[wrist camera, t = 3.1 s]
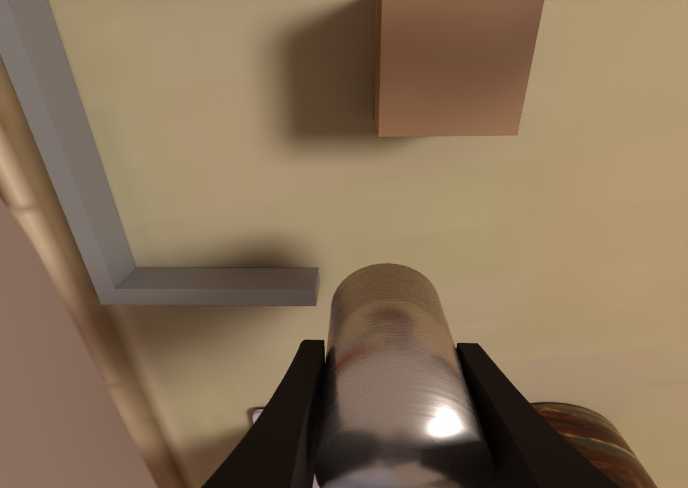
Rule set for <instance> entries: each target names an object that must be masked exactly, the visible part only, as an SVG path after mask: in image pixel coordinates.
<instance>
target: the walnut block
mask: <svg viewBox="0 0 688 488" xmlns="http://www.w3.org/2000/svg"><path fill="white" fill-rule="evenodd" d="M543 3H544V0H375V44H374V95H373V117H374V121H375V125H376V129H377V133H378V137H409V136H505V135H517V134H518V129H519V124H520V119H521V114H522V109H523V104H524V99H525V94H526V88H527V83H528V78H529V73H530V68H531V63H532V58H533V53H534V48H535V43H536V38H537V33H538V28H539V23H540V18H541V13H542V8H543Z"/></svg>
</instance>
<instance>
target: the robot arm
mask: <svg viewBox="0 0 688 488" xmlns="http://www.w3.org/2000/svg"><path fill="white" fill-rule="evenodd" d="M456 351H457V354H458V357H459V360H460V363H461V366H462V369H463V372H464V375H465V378H466V381H467V384H468V387H469V390H470V393H471V396H472V399H473V402H474V405H475V408H476V411H477V414H478V417H479V420H480V423H481V426H482V429H483V432H484V435H485V438H486V441H487V444H488V447H489V450H490V453H491V456H492V459H493V463H494V472H493V477H492V480H491V482H490V485H489V486H488V488H620V487H619V486H618V485H617V484H615V483H614V482H613V481H612V480H611V479H609V478H608V477H607V476H606V475H605V474H603V473H602V472H601V471H600V470H599V469H598V468H596V467H595V466H594V465H593V464H592V463H591V462H590V461H589V460H587V459H586V458H585V457H584V456H583V455H582V454H581V453H580V452H578V451H577V450H576V449H575V448H574V447H573V446H572V445H571V444H570V443H569V442H567V441H566V440H565V439H564V438H563V437H562V436H561V435H560V434H559V433H558V432H557V431H556V430H555V429H554V428H553V427H552V426H551V425H550V424H549V423H548V422H547V421H546V420H545V419H544V418H543V417H542V416H541V415H540V414H539V413H538V411H537V410H536V409H535V408H534V407H533V406H532V405H531V404H530V403H529V402H528V401H527V400H526V399H525V397H524V396H523V395H522V394H521V393H520V392H519V391H518V390H517V389H516V388H515V386H514V385H513V384H512V383H511V382H510V381H509V380H508V378H507V377H506V376H505V375H504V374H503V373H502V371H501V370H500V369H499V368H498V367H497V366H496V364H495V363H494V362H493V361H492V360H491V358H490V357H489V356H488V355H487V354H486V352H485V351H484V350H483V349H482V348H481V346H480V345H479V344H478V343H457V347H456ZM324 372H325V347H324V340H304V341H302V342H301V344H300V346H299V349H298V351H297V353H296V355H295V357H294V359H293V361H292V363H291V365H290V367H289V369H288V371H287V373H286V374H285V376H284V378H283V380H282V381H281V383H280V385H279V386H278V388H277V390H276V391H275V393H274V394H273V396H272V398H271V399H270V401H269V402H268V404H267V405H266V407H265V408H264V409H257V410H255V411H254V412H253V416H252V419H253V425H252V427H251V428H250V429H249V431H248V432H247V434H246V435H245V436H244V437H243V439H242V440H241V441H240V443H239V444H238V445H237V446H236V448H235V449H234V450H233V451H232V453H231V454H230V455H229V456H228V457H227V459H226V460H225V461H224V462H223V463H222V464H221V466H220V467H219V468H218V469H217V470H216V471H215V473H214V474H213V475H212V476H211V477H210V478H209V479H208V480H207V482H206V483H205V484H204V485H203V486H202V487H201V488H320V487H319V486H318V483H317V481H316V477H315V460H316V450H317V440H318V430H319V421H320V411H321V401H322V391H323V382H324Z"/></svg>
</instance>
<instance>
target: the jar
mask: <svg viewBox="0 0 688 488" xmlns="http://www.w3.org/2000/svg"><path fill="white" fill-rule="evenodd" d="M531 405H532V406H533V407H534V408H535V409H536V410H537V411H538V413H539V414H540V415H541V416H542V417H543V418H544V419H545V420H546V421H547V422H548V423H549V424H550V425H551V426H552V427H553V428H554V429H555V430H556V431H557V432H558V433H559V434H560V435H561V436H562V437H563V438H564V439H565V440H566V441H567V442H569V443H570V444H571V445H572V446H573V447H574V448H575V449H576V450H577V451H578V452H580V453H581V454H582V455H583V456H584V457H585V458H586V459H587V460H589V461H590V462H591V463H592V464H593V465H594V466H595V467H596V468H598V469H599V470H600V471H601V472H602V473H603V474H605V475H606V476H607V477H608V478H609V479H611V480H612V481H613V482H614V483H615V484H617V485H618V486H619V487H620V488H658V487H657V486H656V484H655V483H654V482H653V480H652V479H651V477H650V476H649V474H648V473H647V471H646V470H645V469H644V467H643V466H642V464H641V463H640V461H639V460H638V458H637V457H636V456H635V454H634V453H633V451H632V450H631V449H630V447H629V446H628V444H627V443H626V441H625V440H624V439H623V437H622V436H621V435H620V433H619V432H618V430H617V429H616V428H615V427H614V426H613V425H612V424H611V423H610V422H609V421H608V420H607V419H606V418H604V417H603V416H601V415H600V414H598V413H596V412H594V411H591V410H589V409H586V408H582V407H579V406H574V405H568V404H560V403H540V404H531Z"/></svg>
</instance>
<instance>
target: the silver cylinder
mask: <svg viewBox="0 0 688 488" xmlns="http://www.w3.org/2000/svg"><path fill="white" fill-rule="evenodd" d="M493 472H494V463H493V459H492V456H491V453H490V450H489V447H488V444H487V441H486V438H485V435H484V432H483V429H482V426H481V423H480V420H479V417H478V414H477V411H476V408H475V405H474V402H473V399H472V396H471V393H470V390H469V387H468V384H467V381H466V378H465V375H464V372H463V369H462V366H461V363H460V360H459V357H458V354H457V351H456V348H455V345H454V342H453V339H452V336H451V333H450V330H449V327H448V324H447V321H446V318H445V315H444V312H443V309H442V306H441V303H440V300H439V297H438V294H437V291H436V289H435V287H434V286H433V284H432V283H431V282H430V281H429V280H428V279H427V278H426V277H425V276H424V275H423V274H421V273H420V272H418V271H416V270H414V269H412V268H410V267H407V266H403V265H398V264H389V263H386V264H375V265H371V266H367V267H364V268H362V269H359V270H357V271H355V272H354V273H352V274H351V275H349V276H348V277H347V278H345V279H344V280H343V281H342V282H341V284H340V285H339V286H338V288H337V289H336V291H335V293H334V296H333V299H332V304H331V313H330V323H329V333H328V343H327V352H326V362H325V372H324V382H323V391H322V401H321V411H320V421H319V430H318V440H317V450H316V460H315V477H316V481H317V483H318V486H319V487H320V488H488V486H489V485H490V482H491V480H492V477H493Z"/></svg>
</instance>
